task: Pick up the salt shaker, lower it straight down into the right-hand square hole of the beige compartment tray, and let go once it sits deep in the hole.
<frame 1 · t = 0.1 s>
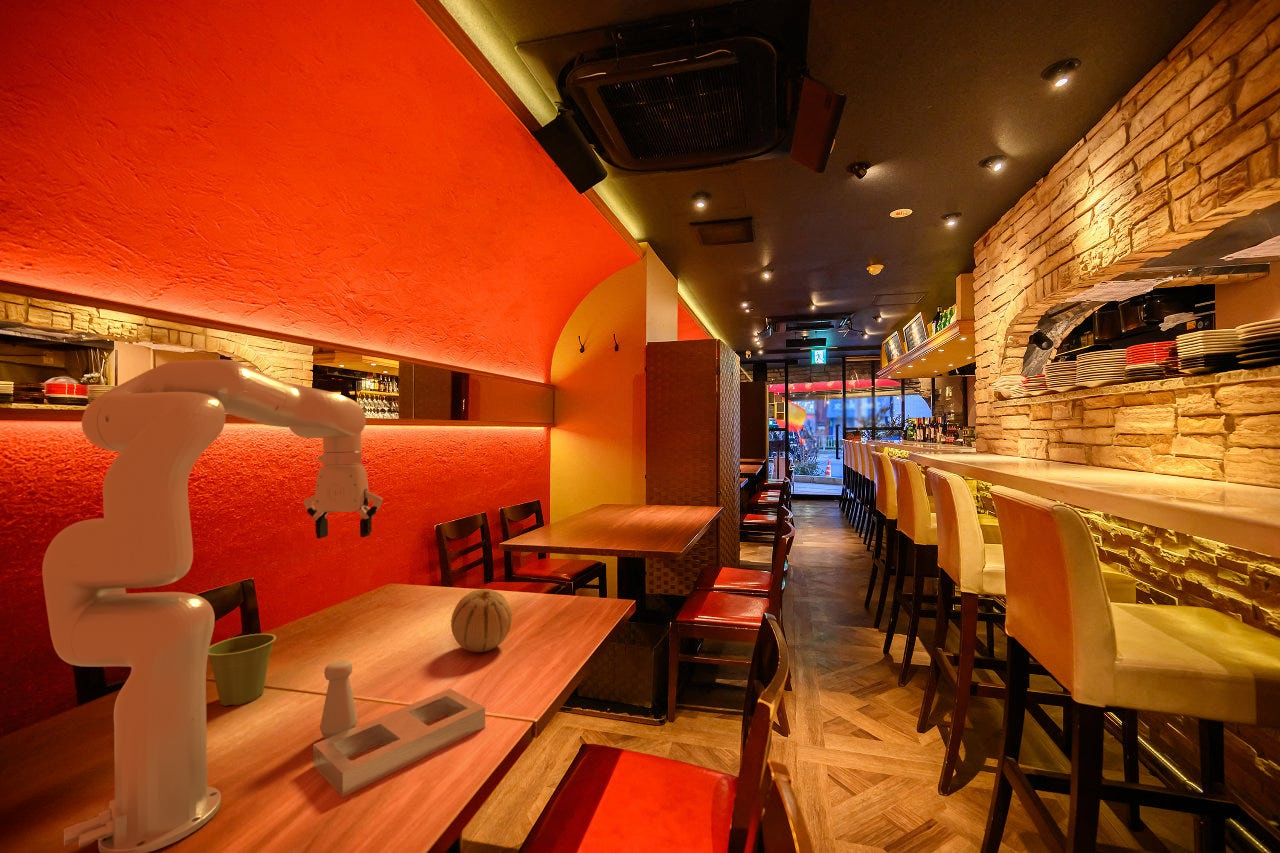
hand: (343, 536, 119), 31 cm above the table, tool pointing down, fingers open, 9 cm apart
beige compartment tray: (404, 745, 91), on the table
cantaloupe: (482, 650, 132), on the table
plant pot: (242, 699, 110), on the table
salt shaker: (339, 737, 94), on the table
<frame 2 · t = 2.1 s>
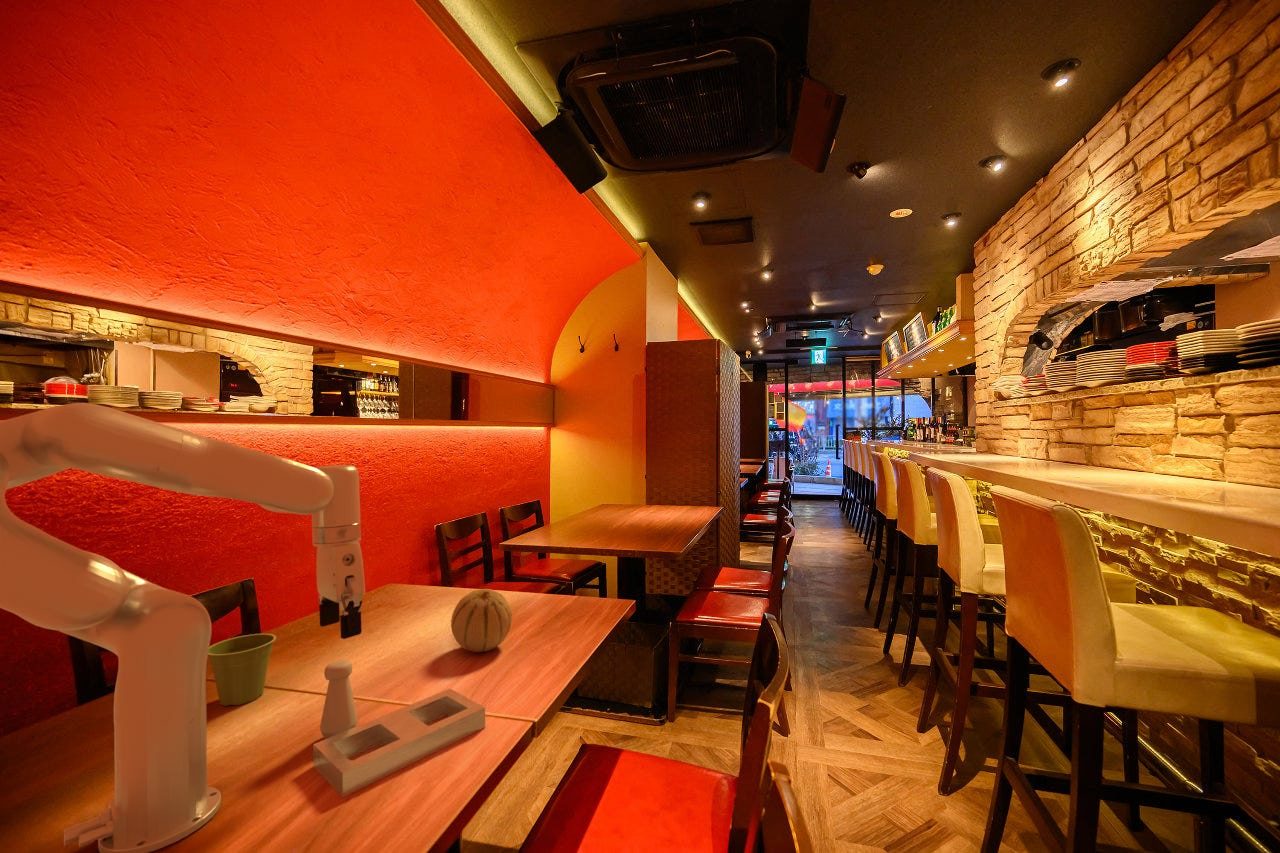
hand: (340, 630, 95), 19 cm above the table, tool pointing down, fingers open, 9 cm apart
nothing on the table moved.
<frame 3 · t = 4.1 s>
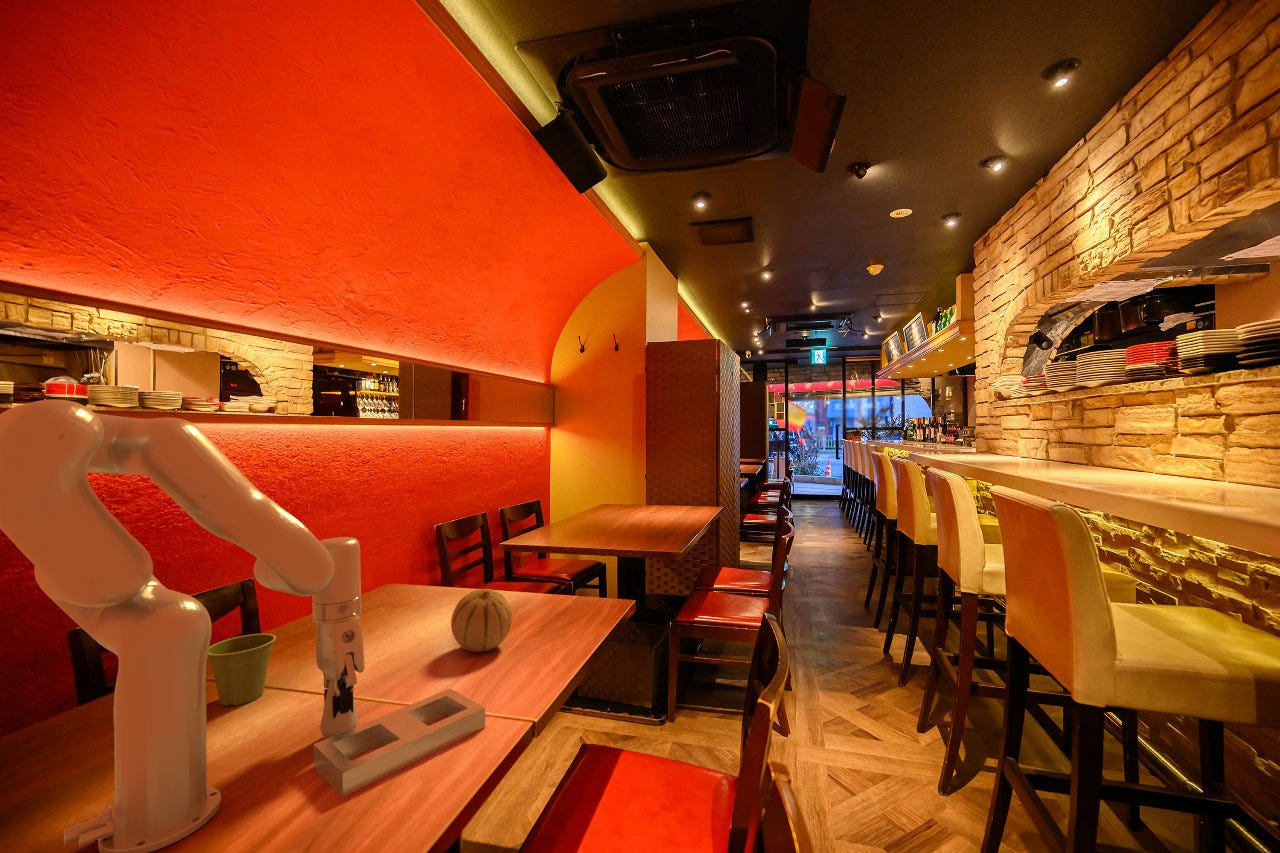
hand: (338, 711, 95), 4 cm above the table, tool pointing down, fingers closed on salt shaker, 3 cm apart
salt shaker: (339, 737, 94), on the table, touching gripper
everything else where it was.
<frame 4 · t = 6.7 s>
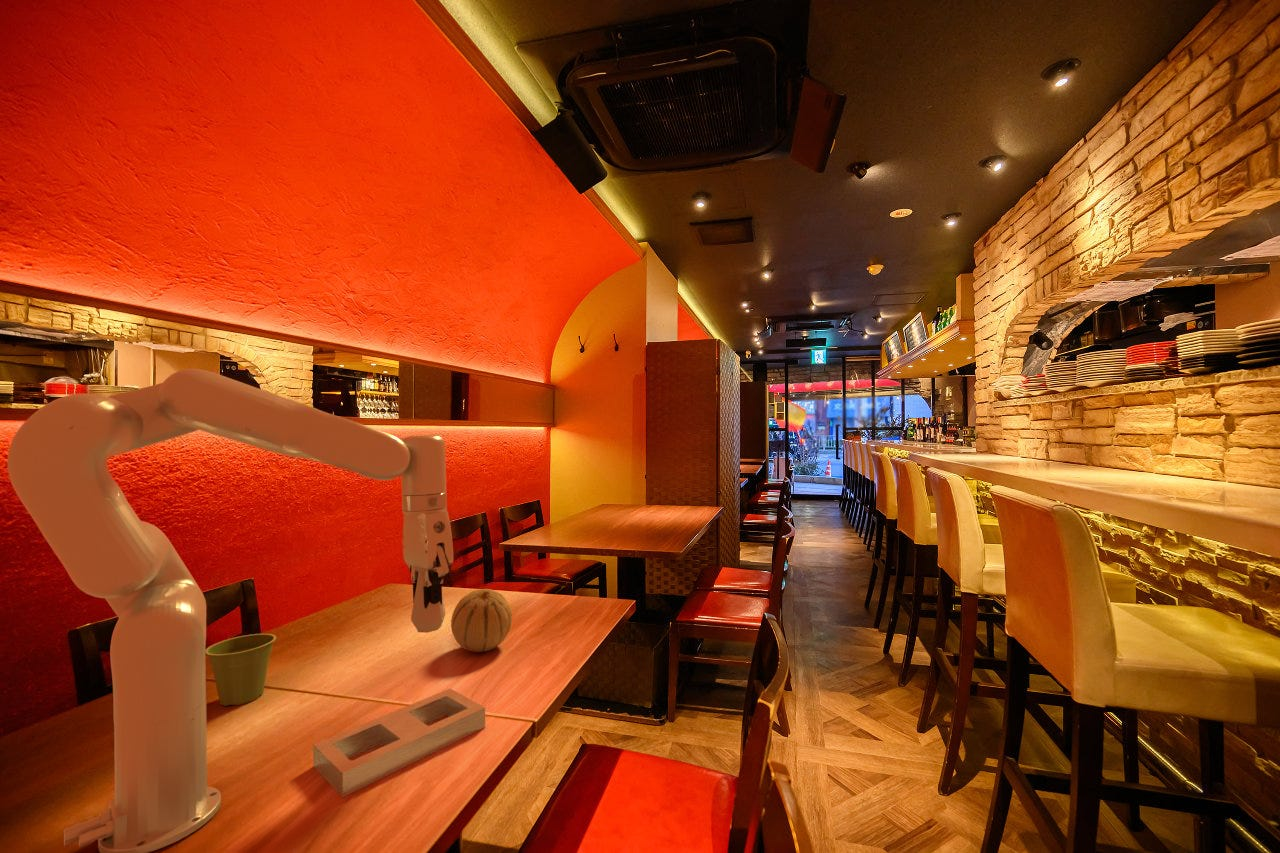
hand: (427, 604, 96), 23 cm above the table, tool pointing down, fingers closed on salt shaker, 3 cm apart
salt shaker: (428, 629, 96), point 18 cm above the table, touching gripper
everything else where it was.
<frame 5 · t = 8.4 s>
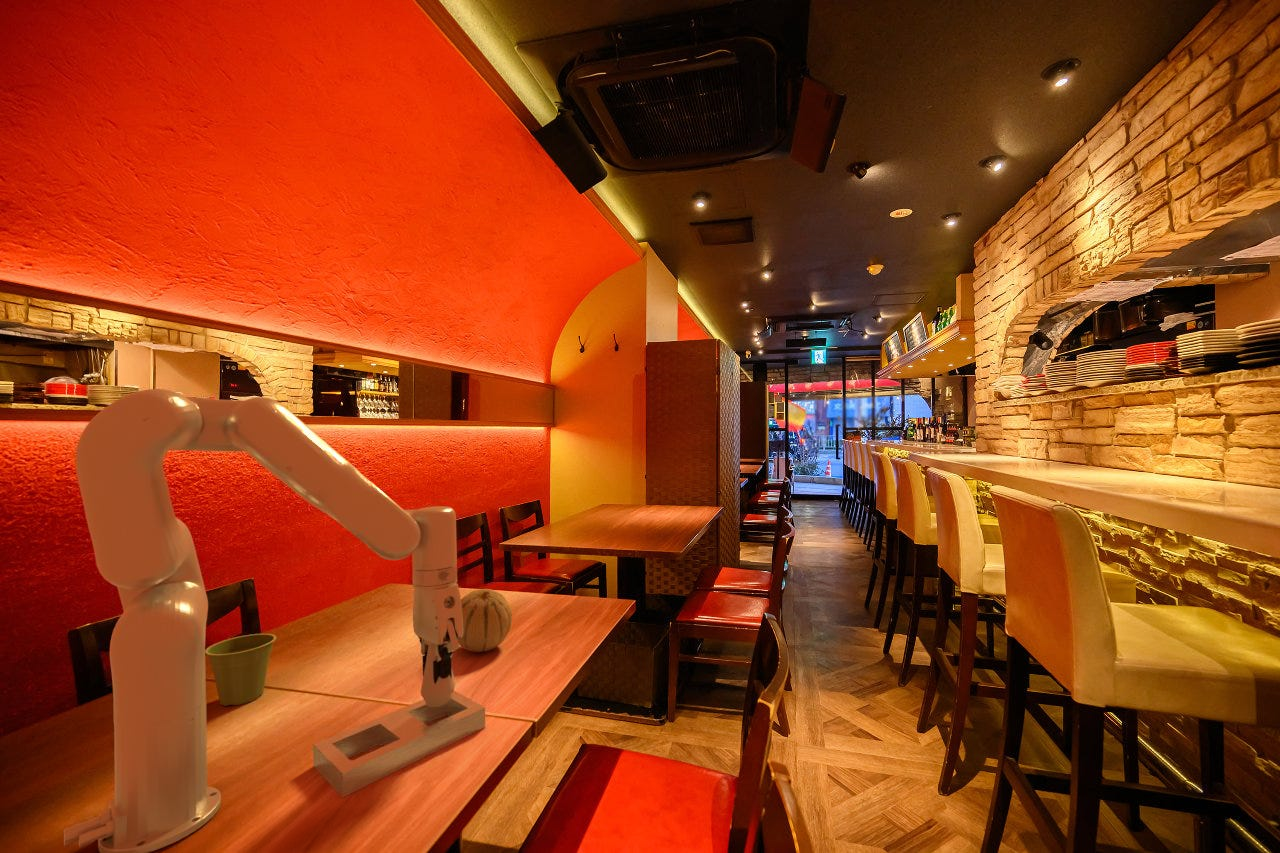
hand: (437, 677, 96), 9 cm above the table, tool pointing down, fingers closed on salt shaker, 3 cm apart
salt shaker: (438, 702, 96), point 5 cm above the table, touching gripper
everything else where it was.
when the fingers open (5 cm above the table, at t = 9.5 s): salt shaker drops 1 cm, resting in beige compartment tray.
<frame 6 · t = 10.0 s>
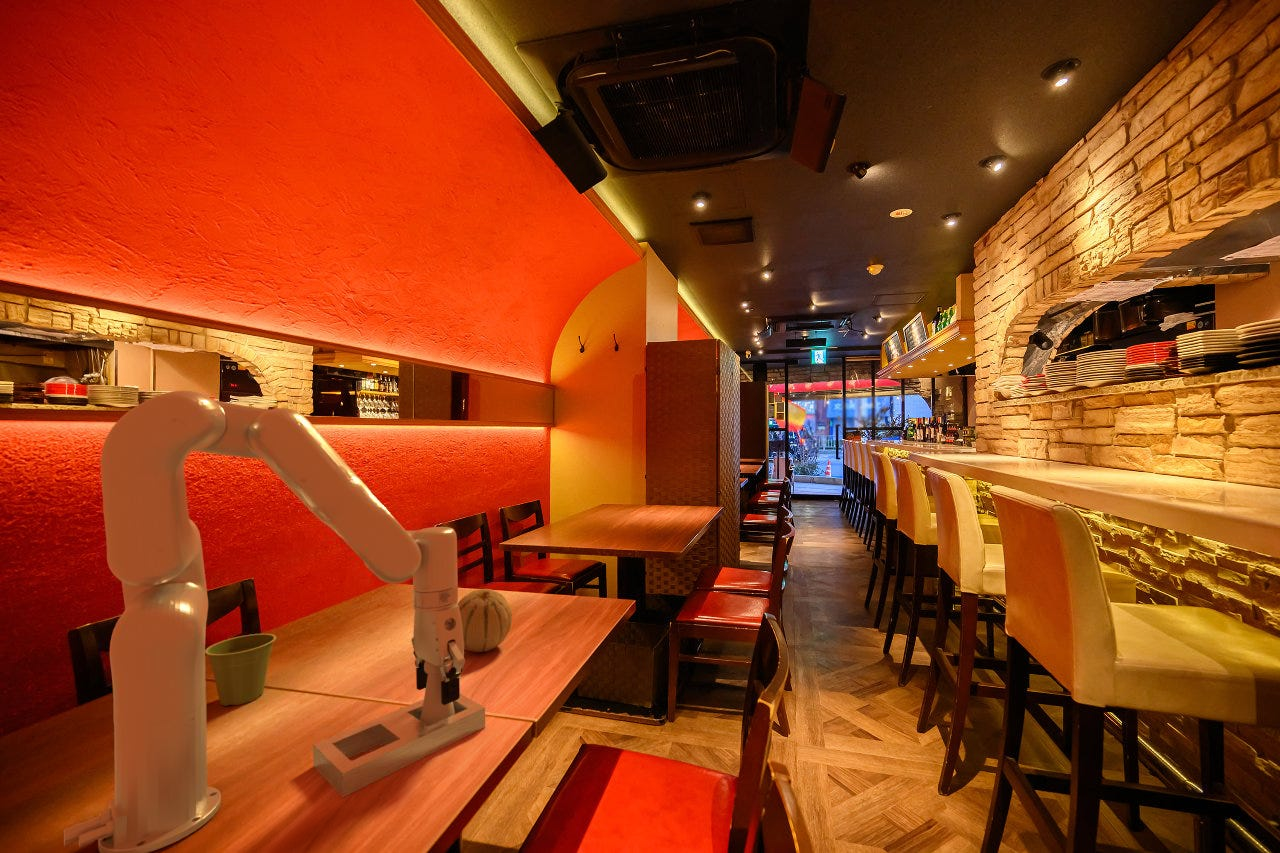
hand: (437, 693, 96), 6 cm above the table, tool pointing down, fingers open, 8 cm apart
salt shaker: (437, 731, 96), resting in beige compartment tray
everything else where it was.
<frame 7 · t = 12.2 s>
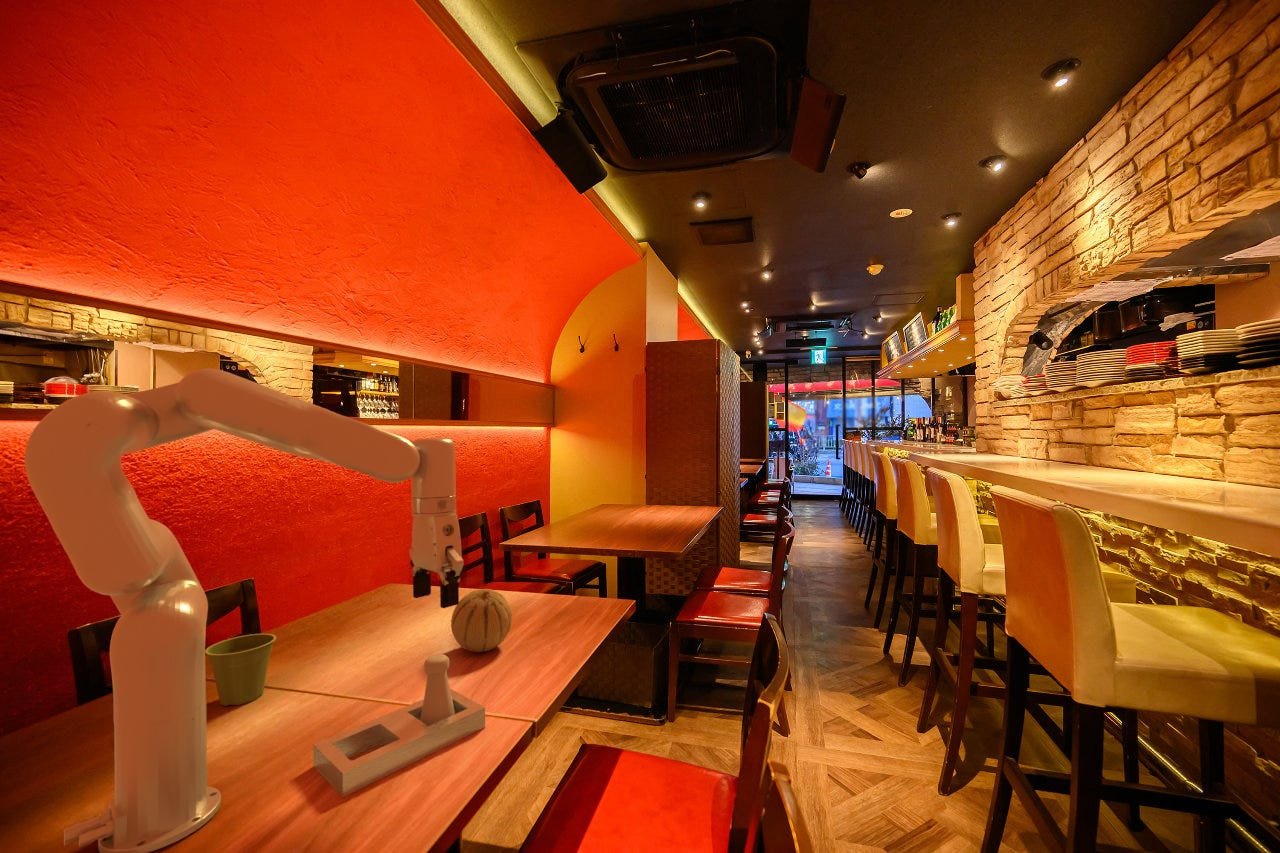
hand: (435, 601, 96), 23 cm above the table, tool pointing down, fingers open, 9 cm apart
nothing on the table moved.
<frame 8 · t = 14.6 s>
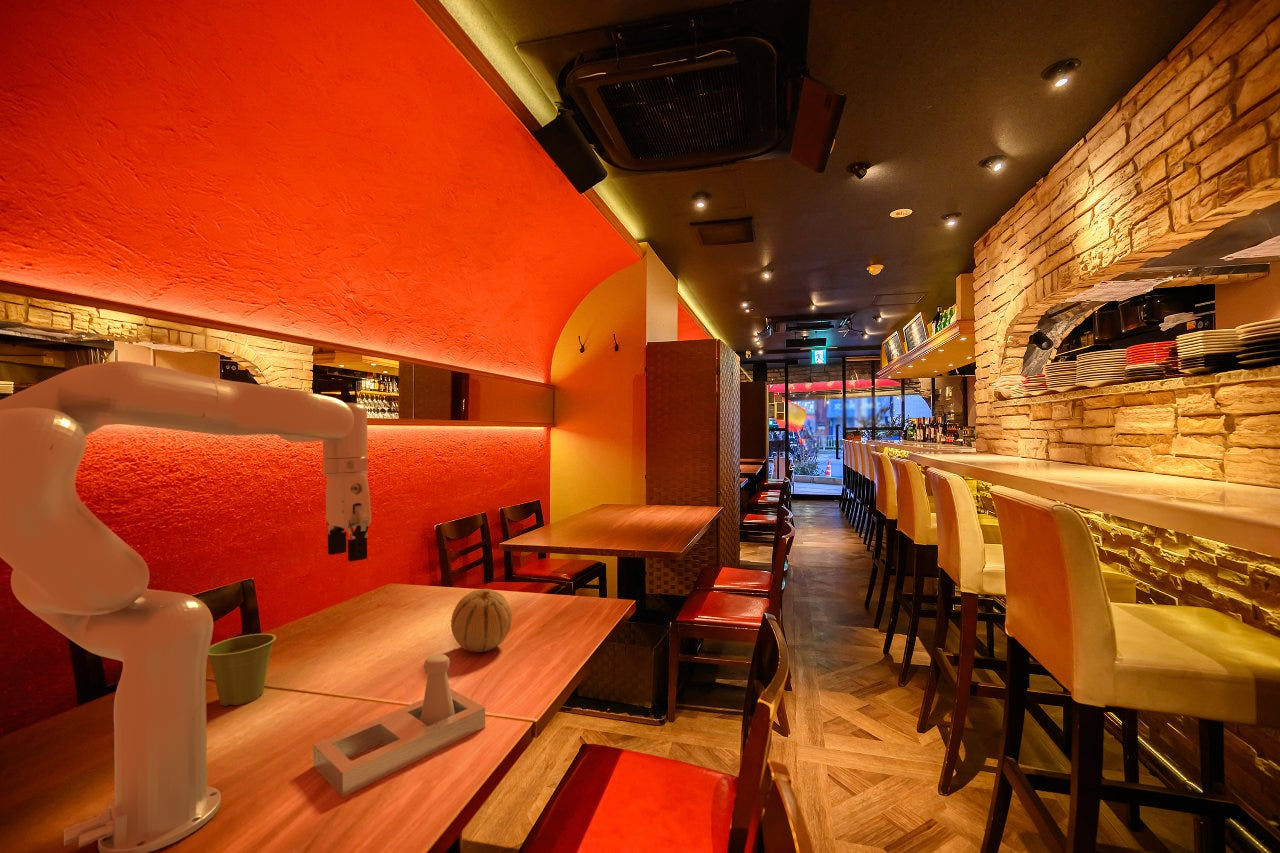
hand: (347, 556, 102), 30 cm above the table, tool pointing down, fingers open, 9 cm apart
nothing on the table moved.
at the end: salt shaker 0.1 cm from the target spot on the beige compartment tray, point 0.0 cm above the beige compartment tray's base; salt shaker tilted 0°; the gripper is holding nothing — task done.
